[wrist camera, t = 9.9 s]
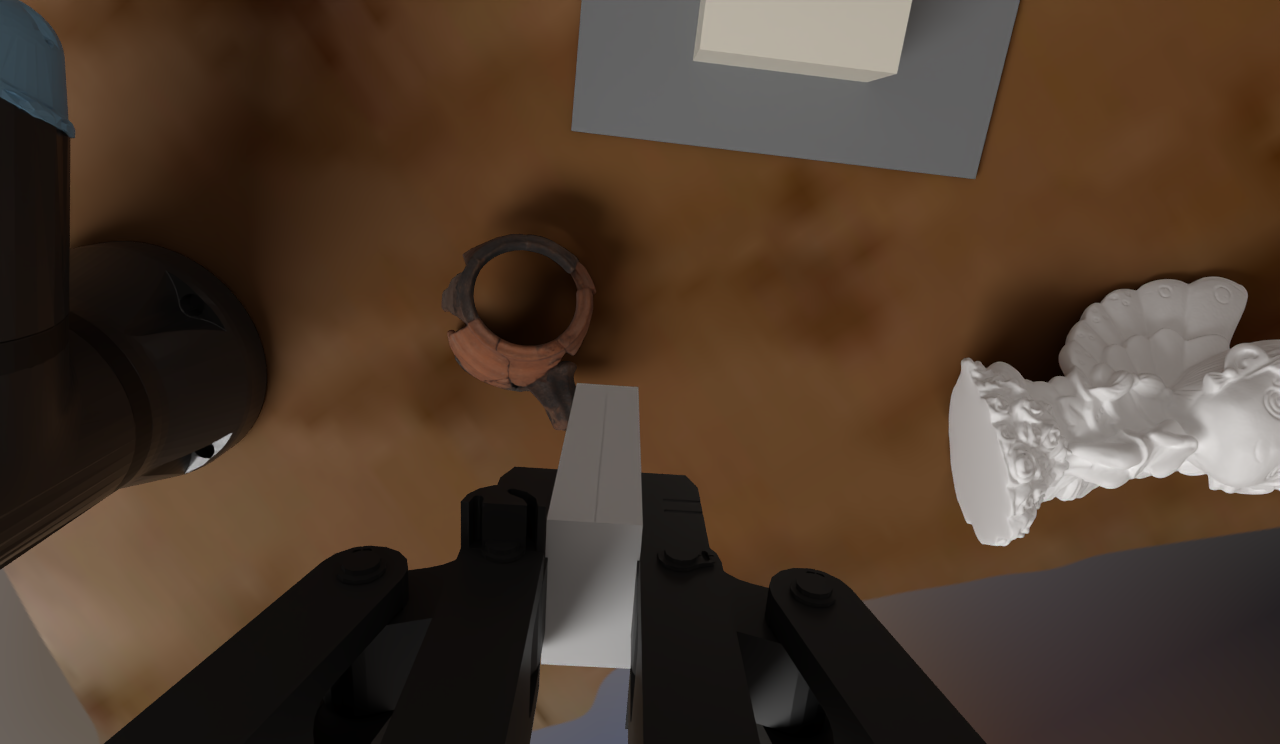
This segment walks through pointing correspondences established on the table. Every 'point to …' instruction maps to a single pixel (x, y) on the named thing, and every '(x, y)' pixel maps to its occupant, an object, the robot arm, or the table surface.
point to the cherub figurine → (1120, 408)
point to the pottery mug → (512, 361)
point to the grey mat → (796, 89)
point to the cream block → (805, 36)
